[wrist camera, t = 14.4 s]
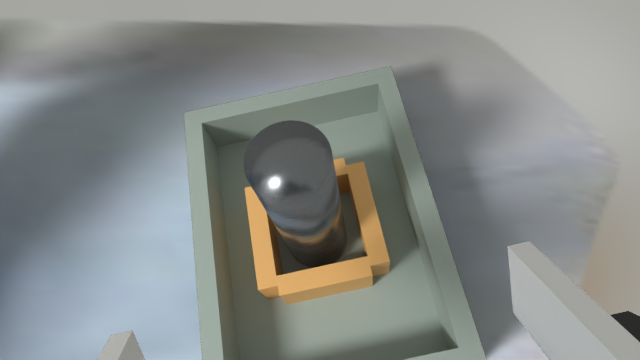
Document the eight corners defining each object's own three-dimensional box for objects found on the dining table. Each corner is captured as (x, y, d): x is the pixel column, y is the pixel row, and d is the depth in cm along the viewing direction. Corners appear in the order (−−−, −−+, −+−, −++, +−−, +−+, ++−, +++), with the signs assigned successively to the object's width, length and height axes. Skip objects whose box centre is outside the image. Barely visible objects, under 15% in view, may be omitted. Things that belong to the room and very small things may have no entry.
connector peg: (293, 273, 30) (248, 209, 20) (284, 218, 32) (238, 130, 21) (352, 261, 30) (340, 189, 19) (340, 206, 32) (323, 112, 21)
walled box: (231, 421, 28) (207, 427, 24) (204, 143, 37) (183, 112, 32) (471, 370, 28) (488, 367, 24) (388, 102, 36) (390, 66, 32)
